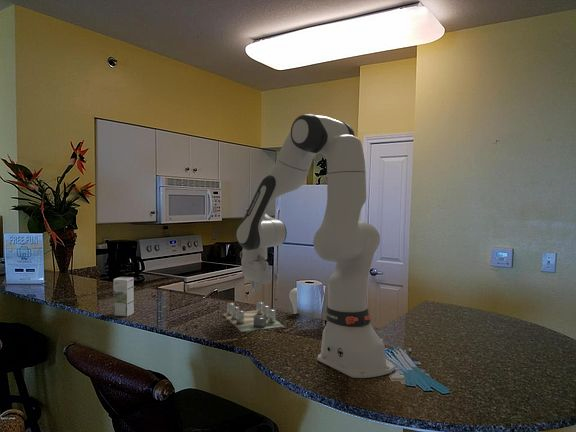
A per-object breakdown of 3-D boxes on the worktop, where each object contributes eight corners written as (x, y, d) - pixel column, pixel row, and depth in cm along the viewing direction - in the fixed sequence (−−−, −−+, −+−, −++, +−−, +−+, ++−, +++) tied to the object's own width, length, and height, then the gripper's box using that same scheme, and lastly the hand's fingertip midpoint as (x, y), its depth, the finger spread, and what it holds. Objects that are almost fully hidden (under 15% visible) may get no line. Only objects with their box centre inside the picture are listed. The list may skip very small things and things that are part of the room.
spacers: (276, 323, 149) (276, 310, 149) (240, 327, 143) (240, 314, 143) (259, 311, 165) (259, 299, 165) (226, 314, 159) (226, 303, 159)
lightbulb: (298, 318, 157) (298, 290, 157) (285, 316, 161) (286, 288, 161) (307, 315, 162) (307, 287, 162) (295, 312, 166) (295, 285, 165)
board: (284, 328, 145) (284, 326, 145) (241, 333, 139) (241, 331, 139) (260, 311, 167) (260, 309, 167) (222, 315, 160) (222, 313, 160)
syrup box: (134, 313, 163) (134, 276, 163) (127, 317, 157) (127, 279, 157) (120, 312, 164) (120, 276, 163) (112, 316, 158) (112, 279, 158)
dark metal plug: (267, 327, 144) (268, 318, 144) (256, 328, 142) (256, 320, 142) (263, 323, 148) (263, 315, 148) (251, 325, 146) (251, 316, 146)
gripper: (273, 256, 141) (274, 296, 142) (254, 251, 160) (254, 287, 160) (256, 257, 139) (257, 298, 139) (238, 252, 158) (239, 288, 158)
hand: (255, 292), depth 150 cm, fingers closed
